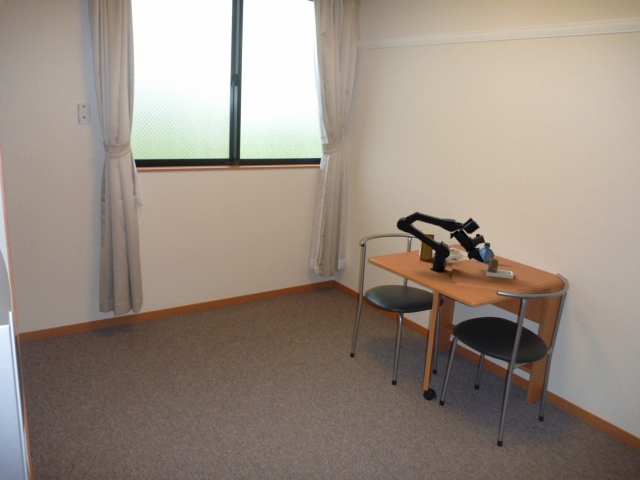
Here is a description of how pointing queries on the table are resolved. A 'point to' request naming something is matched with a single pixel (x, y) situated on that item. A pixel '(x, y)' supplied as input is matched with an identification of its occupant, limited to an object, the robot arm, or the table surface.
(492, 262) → the block
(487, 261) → the perfume bottle
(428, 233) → the baking soda box
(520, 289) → the table surface
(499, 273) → the trap track
